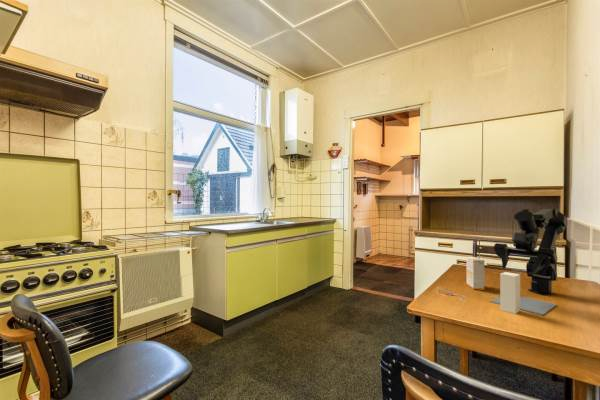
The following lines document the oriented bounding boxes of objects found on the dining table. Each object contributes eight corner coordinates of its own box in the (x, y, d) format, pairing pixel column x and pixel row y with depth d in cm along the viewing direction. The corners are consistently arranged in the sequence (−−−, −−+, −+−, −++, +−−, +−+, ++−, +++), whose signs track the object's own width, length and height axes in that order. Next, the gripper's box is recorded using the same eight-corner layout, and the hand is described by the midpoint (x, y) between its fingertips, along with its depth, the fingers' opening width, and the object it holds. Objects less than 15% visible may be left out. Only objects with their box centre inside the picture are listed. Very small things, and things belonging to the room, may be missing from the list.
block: (505, 307, 105) (505, 271, 104) (520, 310, 101) (520, 274, 101) (500, 309, 102) (500, 273, 102) (515, 313, 98) (515, 276, 98)
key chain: (432, 294, 120) (432, 292, 120) (441, 290, 124) (441, 289, 124) (464, 303, 109) (464, 300, 109) (473, 299, 114) (473, 297, 114)
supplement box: (485, 290, 124) (485, 260, 124) (473, 289, 125) (473, 259, 125) (477, 284, 132) (477, 256, 132) (466, 284, 133) (466, 256, 133)
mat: (506, 293, 119) (506, 292, 119) (556, 305, 106) (556, 304, 106) (490, 301, 110) (490, 300, 110) (542, 315, 97) (542, 314, 97)
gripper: (495, 223, 116) (483, 253, 110) (554, 226, 101) (545, 261, 95) (503, 240, 121) (492, 270, 114) (561, 246, 106) (552, 281, 99)
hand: (517, 270), depth 106 cm, fingers open, 9 cm apart
